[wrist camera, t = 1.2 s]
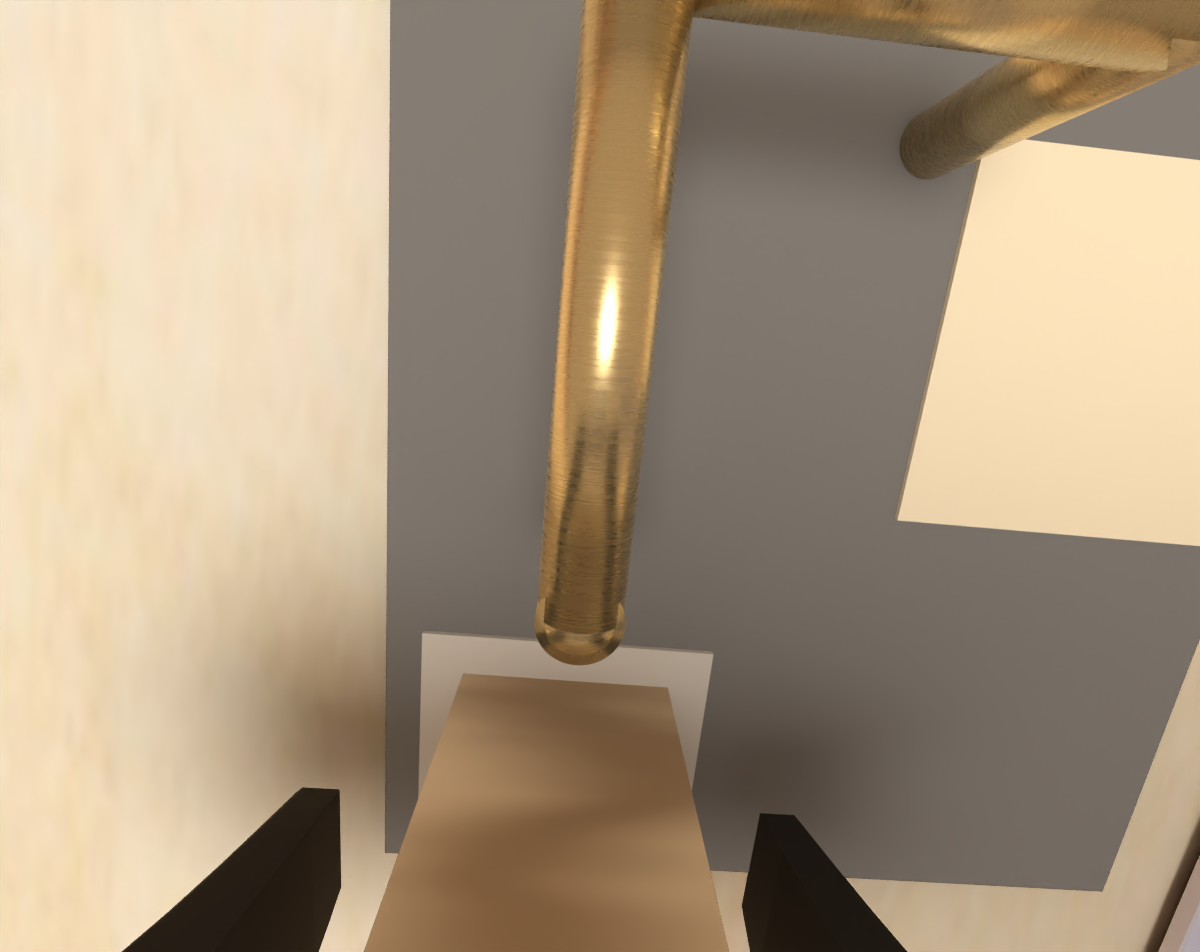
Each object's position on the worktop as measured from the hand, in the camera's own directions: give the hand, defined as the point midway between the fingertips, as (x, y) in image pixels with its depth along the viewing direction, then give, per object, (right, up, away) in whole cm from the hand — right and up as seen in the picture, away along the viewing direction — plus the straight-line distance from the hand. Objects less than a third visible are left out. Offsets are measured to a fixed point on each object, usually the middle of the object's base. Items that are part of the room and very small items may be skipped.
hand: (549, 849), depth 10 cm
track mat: (+5, +6, +1) cm, 8 cm away
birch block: (0, 0, +2) cm, 2 cm away
